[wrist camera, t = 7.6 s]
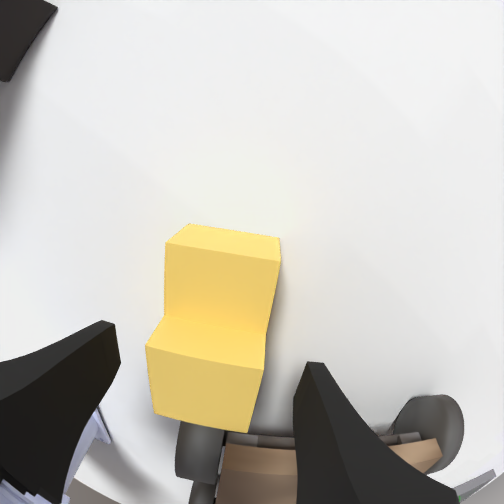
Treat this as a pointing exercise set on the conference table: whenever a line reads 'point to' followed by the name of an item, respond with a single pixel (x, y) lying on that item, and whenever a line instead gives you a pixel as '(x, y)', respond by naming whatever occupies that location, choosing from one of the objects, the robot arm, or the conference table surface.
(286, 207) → the conference table surface
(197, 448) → the trolley
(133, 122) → the conference table surface
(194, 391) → the yellow step block
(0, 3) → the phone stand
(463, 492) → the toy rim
